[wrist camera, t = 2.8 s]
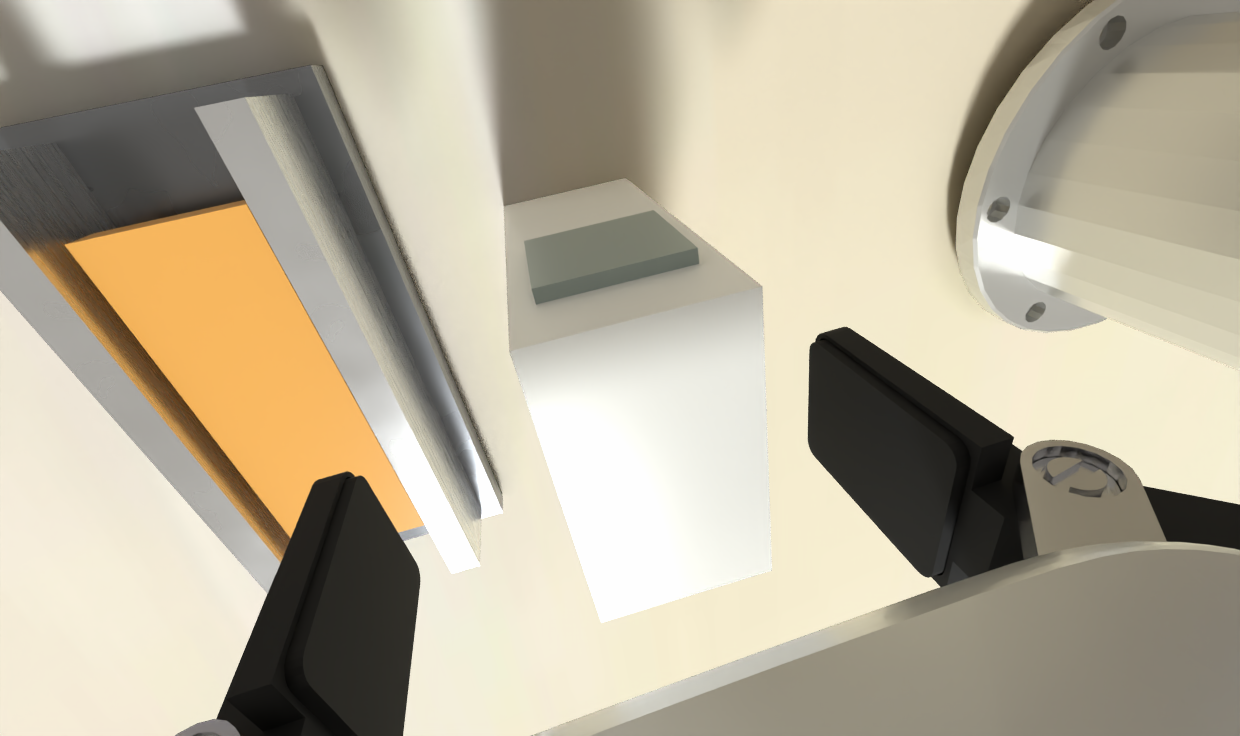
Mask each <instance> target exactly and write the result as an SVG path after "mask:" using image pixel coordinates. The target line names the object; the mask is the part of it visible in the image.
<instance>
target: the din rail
mask: <svg viewBox="0 0 1240 736" xmlns="http://www.w3.org/2000/svg"><path fill="white" fill-rule="evenodd" d="M242 200H245V201H246V203H247V205H248V206H249V208H250V210H251V212H252V214H253V215H254V217H255V219H256V221H257V223H258V224H259V226H260V228H261V230H262V232H263V234H264V235H265V237H266V239H267V241H268V243H269V244H270V246H271V248H272V250H273V252H274V253H275V255H276V257H277V259H278V261H279V262H280V264H281V266H282V268H283V270H284V271H285V273H286V275H287V277H288V279H289V280H290V282H291V284H292V286H293V288H294V289H295V291H296V293H297V295H298V297H299V299H300V300H301V302H302V304H303V306H304V308H305V309H306V311H307V313H308V315H309V317H310V318H311V320H312V322H313V324H314V326H315V327H316V329H317V331H318V333H319V335H320V336H321V338H322V340H323V342H324V344H325V345H326V347H327V349H328V351H329V353H330V354H331V356H332V358H333V360H334V362H335V364H336V365H337V367H338V369H339V371H340V373H341V374H342V376H343V378H344V380H345V382H346V383H347V385H348V387H349V389H350V391H351V392H352V394H353V396H354V398H355V400H356V401H357V403H358V405H359V407H360V409H361V410H362V412H363V414H364V416H365V418H366V419H367V421H368V423H369V425H370V427H371V429H372V430H373V432H374V434H375V436H376V438H377V439H378V441H379V443H380V445H381V447H382V448H383V450H384V452H385V454H386V456H387V457H388V459H389V461H390V463H391V465H392V466H393V468H394V470H395V472H396V474H397V475H398V477H399V479H400V481H401V483H402V485H403V486H404V488H405V490H406V492H407V494H408V495H409V497H410V499H411V501H412V503H413V504H414V506H415V508H416V510H417V512H418V513H419V515H420V517H421V519H422V521H423V522H424V524H425V525H423V526H420V527H416V528H413V529H409V530H406V531H402V532H399V535H400V537H401V538H402V540H403V541H404V540H408V539H411V538H415V537H418V536H422V535H425V534H429V533H430V535H431V537H432V539H433V540H434V542H435V544H436V546H437V548H438V550H439V551H440V553H441V555H442V557H443V559H444V560H445V562H446V564H447V566H448V568H449V569H450V571H451V573H456V572H459V571H463V570H466V569H470V568H473V567H476V566H480V545H481V519H482V518H485V517H489V516H493V515H496V514H500V513H503V498H502V493H501V491H500V488H499V486H498V484H497V481H496V479H495V477H494V474H493V472H492V469H491V467H490V465H489V462H488V460H487V457H486V455H485V453H484V450H483V448H482V445H481V443H480V441H479V438H478V436H477V434H476V431H475V429H474V426H473V424H472V422H471V419H470V417H469V414H468V412H467V410H466V407H465V405H464V402H463V400H462V398H461V395H460V393H459V391H458V388H457V386H456V383H455V381H454V379H453V376H452V374H451V371H450V369H449V367H448V364H447V362H446V359H445V357H444V355H443V352H442V350H441V348H440V345H439V343H438V340H437V338H436V336H435V333H434V331H433V328H432V326H431V324H430V321H429V319H428V316H427V314H426V312H425V309H424V307H423V305H422V302H421V300H420V297H419V295H418V293H417V290H416V288H415V285H414V283H413V281H412V278H411V276H410V273H409V271H408V269H407V266H406V264H405V261H404V259H403V257H402V254H401V252H400V250H399V247H398V245H397V242H396V240H395V238H394V235H393V233H392V230H391V228H390V226H389V223H388V221H387V218H386V216H385V214H384V211H383V209H382V207H381V204H380V202H379V199H378V197H377V195H376V192H375V190H374V187H373V185H372V183H371V180H370V178H369V175H368V173H367V171H366V168H365V166H364V164H363V161H362V159H361V156H360V154H359V152H358V149H357V147H356V144H355V142H354V140H353V137H352V135H351V132H350V130H349V128H348V125H347V123H346V121H345V118H344V116H343V113H342V111H341V109H340V106H339V104H338V101H337V99H336V97H335V94H334V92H333V89H332V87H331V85H330V82H329V80H328V78H327V75H326V73H325V70H324V68H323V66H319V65H308V66H303V67H298V68H293V69H288V70H283V71H278V72H273V73H268V74H263V75H259V76H254V77H249V78H244V79H239V80H234V81H229V82H224V83H219V84H214V85H209V86H204V87H199V88H194V89H189V90H184V91H179V92H174V93H170V94H165V95H160V96H155V97H150V98H145V99H140V100H135V101H130V102H125V103H120V104H115V105H110V106H105V107H100V108H95V109H90V110H85V111H80V112H76V113H71V114H66V115H61V116H56V117H51V118H46V119H41V120H36V121H31V122H26V123H21V124H16V125H11V126H6V127H1V128H0V291H1V292H2V293H3V294H4V295H5V296H6V297H7V299H8V300H9V301H10V302H11V303H12V304H13V305H14V307H15V308H16V309H17V310H18V311H19V312H20V313H21V315H22V316H23V317H24V318H25V319H26V320H27V321H28V322H29V324H30V325H31V326H32V327H33V328H34V329H35V330H36V332H37V333H38V334H39V335H40V336H41V337H42V338H43V339H44V341H45V342H46V343H47V344H48V345H49V346H50V347H51V349H52V350H53V351H54V352H55V353H56V354H57V355H58V356H59V358H60V359H61V360H62V361H63V362H64V363H65V364H66V366H67V367H68V368H69V369H70V370H71V371H72V372H73V373H74V375H75V376H76V377H77V378H78V379H79V380H80V381H81V383H82V384H83V385H84V386H85V387H86V388H87V389H88V390H89V392H90V393H91V394H92V395H93V396H94V397H95V398H96V400H97V401H98V402H99V403H100V404H101V405H102V406H103V408H104V409H105V410H106V411H107V412H108V413H109V414H110V415H111V417H112V418H113V419H114V420H115V421H116V422H117V423H118V425H119V426H120V427H121V428H122V429H123V430H124V431H125V432H126V434H127V435H128V436H129V437H130V438H131V439H132V440H133V442H134V443H135V444H136V445H137V446H138V447H139V448H140V449H141V451H142V452H143V453H144V454H145V455H146V456H147V457H148V459H149V460H150V461H151V462H152V463H153V464H154V465H155V466H156V468H157V469H158V470H159V471H160V472H161V473H162V474H163V476H164V477H165V478H166V479H167V480H168V481H169V482H170V484H171V485H172V486H173V487H174V488H175V489H176V490H177V491H178V493H179V494H180V495H181V496H182V497H183V498H184V499H185V501H186V502H187V503H188V504H189V505H190V506H191V507H192V508H193V510H194V511H195V512H196V513H197V514H198V515H199V516H200V518H201V519H202V520H203V521H204V522H205V523H206V524H207V525H208V527H209V528H210V529H211V530H212V531H213V532H214V533H215V535H216V536H217V537H218V538H219V539H220V540H221V541H222V542H223V544H224V545H225V546H226V547H227V548H228V549H229V550H230V552H231V553H232V554H233V555H234V556H235V557H236V558H237V560H238V561H239V562H240V563H241V564H242V565H243V566H244V567H245V569H246V570H247V571H248V572H249V573H250V574H251V575H252V577H253V578H254V579H255V580H256V581H257V582H258V583H259V584H260V586H261V587H262V588H263V589H264V590H265V591H266V592H267V594H268V592H269V589H270V587H271V584H272V582H273V579H274V577H275V575H276V573H277V571H278V568H279V566H280V563H281V561H282V558H283V556H284V553H285V551H286V549H287V546H288V544H289V541H290V539H291V538H290V537H289V535H288V534H287V533H286V532H285V530H284V529H283V528H282V526H281V525H280V524H279V522H278V521H277V520H276V519H275V517H274V516H273V515H272V513H271V512H270V511H269V510H268V508H267V507H266V506H265V504H264V503H263V502H262V500H261V499H260V498H259V497H258V495H257V494H256V493H255V491H254V490H253V489H252V487H251V486H250V485H249V484H248V482H247V481H246V480H245V478H244V477H243V476H242V475H241V473H240V472H239V471H238V469H237V468H236V467H235V465H234V464H233V463H232V462H231V460H230V459H229V458H228V456H227V455H226V454H225V452H224V451H223V450H222V449H221V447H220V446H219V445H218V443H217V442H216V441H215V439H214V438H213V437H212V436H211V434H210V433H209V432H208V430H207V429H206V428H205V427H204V425H203V424H202V423H201V421H200V420H199V419H198V417H197V416H196V415H195V414H194V412H193V411H192V410H191V408H190V407H189V406H188V404H187V403H186V402H185V401H184V399H183V398H182V397H181V395H180V394H179V393H178V392H177V390H176V389H175V388H174V386H173V385H172V384H171V382H170V381H169V380H168V379H167V377H166V376H165V375H164V373H163V372H162V371H161V369H160V368H159V367H158V366H157V364H156V363H155V362H154V360H153V359H152V358H151V357H150V355H149V354H148V353H147V351H146V350H145V349H144V347H143V346H142V345H141V344H140V342H139V341H138V340H137V338H136V337H135V336H134V334H133V333H132V332H131V331H130V329H129V328H128V327H127V325H126V324H125V323H124V321H123V320H122V319H121V318H120V316H119V315H118V314H117V312H116V311H115V310H114V309H113V307H112V306H111V305H110V303H109V302H108V301H107V299H106V298H105V297H104V296H103V294H102V293H101V292H100V290H99V289H98V288H97V286H96V285H95V284H94V283H93V281H92V280H91V279H90V277H89V276H88V275H87V274H86V272H85V271H84V270H83V268H82V267H81V266H80V264H79V263H78V262H77V261H76V259H75V258H74V257H73V255H72V254H71V253H70V251H69V250H68V249H67V248H66V246H65V244H68V243H70V242H73V241H75V240H78V239H80V238H83V237H86V236H88V235H91V234H93V233H97V232H102V231H106V230H111V229H115V228H120V227H124V226H129V225H133V224H138V223H142V222H147V221H151V220H156V219H160V218H165V217H169V216H174V215H178V214H183V213H188V212H192V211H197V210H201V209H206V208H210V207H215V206H219V205H224V204H228V203H233V202H237V201H242Z"/></svg>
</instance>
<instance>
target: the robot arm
mask: <svg viewBox="0 0 1240 736" xmlns="http://www.w3.org/2000/svg"><path fill="white" fill-rule="evenodd" d="M956 252H957V258H958V264H959V269H960V274H961V276H962V278H963V281H964V283H965V285H966V287H967V290H968V292H969V294H970V295H971V296H972V297H973V298H974V299H975V301H976V302H977V303H978V304H979V305H980V306H981V308H982V309H984V310H985V311H987V312H989V313H990V314H992V315H993V316H995V317H997V318H998V319H1000V320H1002V321H1005V322H1007V323H1009V324H1011V325H1013V326H1015V327H1018V328H1020V329H1023V330H1027V331H1035V332H1043V333H1052V332H1062V331H1071V330H1075V329H1078V328H1082V327H1085V326H1089V325H1093V324H1096V323H1099V322H1101V321H1103V320H1105V319H1110V320H1113V321H1115V322H1118V323H1120V324H1123V325H1125V326H1128V327H1130V328H1133V329H1135V330H1138V331H1140V332H1143V333H1145V334H1148V335H1150V336H1153V337H1155V338H1158V339H1160V340H1163V341H1165V342H1168V343H1170V344H1173V345H1176V346H1178V347H1181V348H1183V349H1186V350H1188V351H1191V352H1193V353H1196V354H1198V355H1201V356H1203V357H1206V358H1208V359H1211V360H1213V361H1216V362H1218V363H1221V364H1223V365H1226V366H1228V367H1231V368H1233V369H1236V370H1238V371H1240V0H1094V1H1092V2H1091V3H1089V4H1088V5H1087V6H1086V7H1084V8H1083V9H1082V10H1081V11H1080V12H1079V13H1078V14H1077V15H1076V16H1074V17H1073V18H1072V19H1071V20H1070V21H1069V22H1068V23H1067V24H1066V25H1064V26H1063V27H1062V28H1061V29H1060V30H1059V31H1058V32H1057V33H1056V34H1054V35H1053V37H1052V38H1051V39H1050V40H1049V41H1048V42H1047V43H1046V45H1045V46H1044V47H1043V48H1042V49H1041V50H1040V52H1039V53H1038V54H1037V55H1036V56H1035V57H1034V58H1033V60H1032V61H1031V62H1030V63H1029V64H1028V65H1027V67H1026V68H1025V69H1024V70H1023V71H1022V73H1021V74H1020V76H1019V77H1018V79H1017V80H1016V82H1015V83H1014V85H1013V86H1012V87H1011V89H1010V90H1009V92H1008V93H1007V95H1006V96H1005V98H1004V99H1003V101H1002V102H1001V104H1000V105H999V107H998V108H997V110H996V112H995V114H994V116H993V118H992V120H991V121H990V123H989V125H988V127H987V129H986V131H985V133H984V135H983V137H982V139H981V141H980V143H979V145H978V147H977V149H976V152H975V155H974V157H973V160H972V163H971V166H970V168H969V171H968V174H967V177H966V179H965V182H964V186H963V191H962V195H961V200H960V205H959V210H958V214H957V228H956ZM1013 439H1014V437H1013V436H1012V435H1010V434H1009V433H1007V432H1005V431H1004V430H1002V429H1001V428H999V427H998V426H996V425H995V424H993V423H992V422H990V421H989V420H987V419H986V418H984V417H983V416H981V415H980V414H978V413H977V412H975V411H974V410H972V409H971V408H969V407H968V406H966V405H965V404H963V403H962V402H960V401H959V400H957V399H956V398H954V397H953V396H951V395H950V394H948V393H947V392H945V391H944V390H942V389H941V388H939V387H938V386H936V385H935V384H933V383H932V382H930V381H929V380H927V379H926V378H924V377H923V376H921V375H919V374H918V373H916V372H915V371H913V370H912V369H910V368H909V367H907V366H906V365H904V364H903V363H901V362H900V361H898V360H897V359H895V358H894V357H892V356H891V355H889V354H888V353H886V352H885V351H883V350H882V349H880V348H879V347H877V346H876V345H874V344H873V343H871V342H870V341H868V340H867V339H865V338H864V337H862V336H861V335H859V334H858V333H856V332H855V331H853V330H852V329H850V328H848V327H842V328H838V329H835V330H831V331H828V332H824V333H821V334H819V335H818V336H817V338H816V341H815V342H814V343H812V344H811V346H810V353H809V404H808V444H809V447H810V450H811V452H812V454H813V455H814V456H815V458H816V459H817V460H818V461H819V462H820V463H821V464H822V465H823V466H824V468H825V469H826V470H827V471H828V472H829V473H830V474H831V475H832V476H833V478H834V479H835V480H836V481H837V482H838V483H839V484H840V485H841V486H842V488H843V489H844V490H845V491H846V492H847V493H848V494H849V495H850V496H851V498H852V499H853V500H854V501H855V502H856V503H857V504H858V505H859V506H860V508H861V509H862V510H863V511H864V512H865V513H866V514H867V515H868V516H869V518H870V519H871V520H872V521H873V522H874V523H875V524H876V525H877V526H878V528H879V529H880V530H881V531H882V532H883V533H884V534H885V535H886V536H887V538H888V539H889V540H890V541H891V542H892V543H893V544H894V545H895V546H896V548H897V549H898V550H899V551H900V552H901V553H902V554H903V555H904V556H905V558H906V559H907V560H908V561H909V562H910V563H911V564H912V565H913V566H914V568H915V569H916V570H917V571H918V572H919V573H920V574H921V575H923V576H925V577H928V578H929V577H932V578H933V579H934V580H935V581H936V582H937V584H938V585H939V586H940V588H937V589H934V590H931V591H928V592H926V593H923V594H920V595H917V596H914V597H912V598H909V599H906V600H903V601H900V602H898V603H895V604H892V605H889V606H886V607H884V608H881V609H878V610H875V611H872V612H870V613H867V614H864V615H861V616H858V617H856V618H853V619H850V620H847V621H844V622H842V623H839V624H836V625H833V626H830V627H828V628H825V629H822V630H819V631H816V632H814V633H811V634H808V635H805V636H802V637H800V638H797V639H794V640H791V641H789V642H786V643H783V644H780V645H778V646H775V647H772V648H769V649H767V650H764V651H761V652H758V653H756V654H753V655H750V656H747V657H744V658H742V659H739V660H736V661H733V662H731V663H728V664H725V665H722V666H720V667H717V668H714V669H711V670H709V671H706V672H703V673H700V674H698V675H695V676H692V677H689V678H687V679H684V680H681V681H678V682H676V683H673V684H670V685H667V686H665V687H662V688H659V689H657V690H654V691H651V692H648V693H646V694H643V695H640V696H637V697H635V698H632V699H629V700H626V701H624V702H621V703H618V704H615V705H613V706H610V707H607V708H605V709H602V710H599V711H596V712H594V713H591V714H588V715H586V716H583V717H580V718H578V719H575V720H572V721H569V722H567V723H564V724H561V725H559V726H556V727H553V728H550V729H548V730H545V731H542V732H540V733H537V734H534V735H532V736H1240V505H1239V504H1234V503H1228V502H1223V501H1218V500H1213V499H1208V498H1202V497H1197V496H1192V495H1187V494H1182V493H1176V492H1171V491H1166V490H1161V489H1156V488H1150V487H1145V486H1143V485H1142V483H1141V480H1140V479H1139V477H1138V476H1137V474H1136V473H1135V472H1134V470H1133V469H1132V468H1131V467H1130V466H1128V465H1127V464H1126V463H1125V462H1123V461H1122V460H1121V459H1119V458H1117V457H1116V456H1114V455H1112V454H1110V453H1108V452H1106V451H1104V450H1101V449H1098V448H1096V447H1093V446H1090V445H1087V444H1083V443H1078V442H1073V441H1065V440H1047V441H1040V442H1036V443H1034V444H1031V445H1029V446H1027V447H1026V448H1025V449H1024V450H1023V451H1021V450H1020V449H1018V448H1017V447H1015V446H1014V445H1013V444H1012V442H1013ZM419 589H420V573H419V568H418V565H417V563H416V562H415V560H414V558H413V557H412V555H411V553H410V552H409V550H408V548H407V547H406V545H405V543H404V542H403V540H402V538H401V537H400V535H399V533H398V532H397V530H396V528H395V527H394V525H393V523H392V522H391V520H390V518H389V517H388V515H387V513H386V512H385V510H384V508H383V507H382V505H381V503H380V502H379V500H378V498H377V497H376V495H375V493H374V492H373V490H372V488H371V487H370V485H369V483H368V482H367V480H366V479H365V477H363V476H361V475H359V476H356V477H355V476H354V474H352V473H351V472H348V471H346V472H343V473H339V474H336V475H332V476H329V477H325V478H322V479H318V480H316V481H315V482H314V483H313V485H312V487H311V490H310V492H309V495H308V497H307V500H306V502H305V504H304V507H303V509H302V512H301V514H300V517H299V519H298V522H297V524H296V527H295V529H294V531H293V534H292V536H291V539H290V541H289V544H288V546H287V549H286V551H285V553H284V556H283V558H282V561H281V563H280V566H279V568H278V571H277V573H276V575H275V577H274V579H273V582H272V584H271V587H270V589H269V592H268V594H267V597H266V599H265V601H264V604H263V606H262V609H261V611H260V614H259V616H258V619H257V621H256V623H255V626H254V628H253V631H252V633H251V636H250V638H249V641H248V643H247V645H246V648H245V650H244V653H243V655H242V658H241V660H240V663H239V665H238V667H237V670H236V672H235V675H234V677H233V680H232V682H231V685H230V687H229V689H228V692H227V694H226V697H225V699H224V702H223V704H222V707H221V709H220V711H219V714H218V716H217V719H212V720H209V721H205V722H201V723H197V724H195V725H193V726H191V727H189V728H187V729H186V730H184V731H182V732H180V733H178V734H177V735H175V736H403V730H404V721H405V712H406V703H407V695H408V686H409V677H410V668H411V659H412V651H413V642H414V633H415V624H416V615H417V607H418V598H419Z"/></svg>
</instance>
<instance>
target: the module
mask: <svg viewBox="0 0 1240 736" xmlns="http://www.w3.org/2000/svg"><path fill="white" fill-rule="evenodd" d="M504 227H505V253H506V278H507V304H508V330H509V352H510V355H511V358H512V361H513V363H514V366H515V369H516V372H517V375H518V378H519V381H520V384H521V387H522V390H523V393H524V396H525V399H526V402H527V405H528V408H529V411H530V414H531V417H532V420H533V423H534V426H535V429H536V431H537V434H538V437H539V440H540V443H541V446H542V449H543V452H544V455H545V458H546V461H547V464H548V467H549V470H550V473H551V476H552V479H553V482H554V485H555V488H556V491H557V494H558V497H559V499H560V502H561V505H562V508H563V511H564V514H565V517H566V520H567V523H568V526H569V529H570V532H571V535H572V538H573V541H574V544H575V547H576V550H577V553H578V556H579V559H580V562H581V565H582V567H583V570H584V573H585V576H586V579H587V582H588V585H589V588H590V591H591V594H592V597H593V600H594V603H595V606H596V609H597V612H598V615H599V618H600V621H601V623H603V622H606V621H609V620H612V619H616V618H619V617H622V616H625V615H629V614H632V613H635V612H638V611H642V610H645V609H648V608H652V607H655V606H658V605H661V604H665V603H668V602H671V601H674V600H678V599H681V598H684V597H687V596H691V595H694V594H697V593H700V592H704V591H707V590H710V589H713V588H717V587H720V586H723V585H726V584H730V583H733V582H736V581H739V580H743V579H746V578H749V577H752V576H756V575H759V574H762V573H766V572H769V571H772V556H771V527H770V497H769V468H768V439H767V409H766V380H765V351H764V321H763V292H762V286H761V285H760V284H759V283H758V282H756V281H755V280H754V279H753V278H751V277H750V276H749V275H748V274H746V273H745V272H744V271H743V270H741V269H740V268H739V267H737V266H736V265H735V264H734V263H732V262H731V261H730V260H729V259H727V258H726V257H725V256H724V255H722V254H721V253H720V252H719V251H717V250H716V249H715V248H714V247H712V246H711V245H710V244H708V243H707V242H706V241H705V240H703V239H702V238H701V237H700V236H698V235H697V234H696V233H695V232H693V231H692V230H691V229H690V228H688V227H687V226H686V225H685V224H683V223H682V222H681V221H679V220H678V219H677V218H676V217H674V216H673V215H672V214H671V213H669V212H668V211H667V210H666V209H664V208H663V207H662V206H661V205H659V204H658V203H657V202H656V201H654V200H653V199H652V198H651V197H649V196H648V195H647V194H645V193H644V192H643V191H642V190H640V189H639V188H638V187H637V186H635V185H634V184H633V183H632V182H630V181H629V180H628V179H627V178H623V179H619V180H614V181H610V182H606V183H602V184H597V185H593V186H589V187H584V188H580V189H576V190H571V191H567V192H563V193H558V194H554V195H550V196H546V197H541V198H537V199H533V200H528V201H524V202H520V203H515V204H511V205H507V206H504Z"/></svg>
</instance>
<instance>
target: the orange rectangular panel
mask: <svg viewBox="0 0 1240 736" xmlns="http://www.w3.org/2000/svg"><path fill="white" fill-rule="evenodd" d="M65 246H66V248H67V249H68V250H69V251H70V253H71V254H72V255H73V257H74V258H75V259H76V261H77V262H78V263H79V264H80V266H81V267H82V268H83V270H84V271H85V272H86V274H87V275H88V276H89V277H90V279H91V280H92V281H93V283H94V284H95V285H96V286H97V288H98V289H99V290H100V292H101V293H102V294H103V296H104V297H105V298H106V299H107V301H108V302H109V303H110V305H111V306H112V307H113V309H114V310H115V311H116V312H117V314H118V315H119V316H120V318H121V319H122V320H123V321H124V323H125V324H126V325H127V327H128V328H129V329H130V331H131V332H132V333H133V334H134V336H135V337H136V338H137V340H138V341H139V342H140V344H141V345H142V346H143V347H144V349H145V350H146V351H147V353H148V354H149V355H150V357H151V358H152V359H153V360H154V362H155V363H156V364H157V366H158V367H159V368H160V369H161V371H162V372H163V373H164V375H165V376H166V377H167V379H168V380H169V381H170V382H171V384H172V385H173V386H174V388H175V389H176V390H177V392H178V393H179V394H180V395H181V397H182V398H183V399H184V401H185V402H186V403H187V404H188V406H189V407H190V408H191V410H192V411H193V412H194V414H195V415H196V416H197V417H198V419H199V420H200V421H201V423H202V424H203V425H204V427H205V428H206V429H207V430H208V432H209V433H210V434H211V436H212V437H213V438H214V439H215V441H216V442H217V443H218V445H219V446H220V447H221V449H222V450H223V451H224V452H225V454H226V455H227V456H228V458H229V459H230V460H231V462H232V463H233V464H234V465H235V467H236V468H237V469H238V471H239V472H240V473H241V475H242V476H243V477H244V478H245V480H246V481H247V482H248V484H249V485H250V486H251V487H252V489H253V490H254V491H255V493H256V494H257V495H258V497H259V498H260V499H261V500H262V502H263V503H264V504H265V506H266V507H267V508H268V510H269V511H270V512H271V513H272V515H273V516H274V517H275V519H276V520H277V521H278V522H279V524H280V525H281V526H282V528H283V529H284V530H285V532H286V533H287V534H288V535H289V537H290V538H291V536H292V534H293V531H294V529H295V527H296V524H297V522H298V519H299V517H300V514H301V512H302V509H303V507H304V504H305V502H306V500H307V497H308V495H309V492H310V490H311V487H312V485H313V483H314V482H315V481H316V480H318V479H322V478H325V477H329V476H332V475H336V474H339V473H343V472H346V471H348V472H351V473H352V474H354V476H355V477H356V476H359V475H361V476H363V477H365V479H366V480H367V482H368V483H369V485H370V487H371V488H372V490H373V492H374V493H375V495H376V497H377V498H378V500H379V502H380V503H381V505H382V507H383V508H384V510H385V512H386V513H387V515H388V517H389V518H390V520H391V522H392V523H393V525H394V527H395V528H396V530H397V532H398V533H399V532H402V531H406V530H409V529H413V528H416V527H420V526H423V525H425V524H424V522H423V521H422V519H421V517H420V515H419V513H418V512H417V510H416V508H415V506H414V504H413V503H412V501H411V499H410V497H409V495H408V494H407V492H406V490H405V488H404V486H403V485H402V483H401V481H400V479H399V477H398V475H397V474H396V472H395V470H394V468H393V466H392V465H391V463H390V461H389V459H388V457H387V456H386V454H385V452H384V450H383V448H382V447H381V445H380V443H379V441H378V439H377V438H376V436H375V434H374V432H373V430H372V429H371V427H370V425H369V423H368V421H367V419H366V418H365V416H364V414H363V412H362V410H361V409H360V407H359V405H358V403H357V401H356V400H355V398H354V396H353V394H352V392H351V391H350V389H349V387H348V385H347V383H346V382H345V380H344V378H343V376H342V374H341V373H340V371H339V369H338V367H337V365H336V364H335V362H334V360H333V358H332V356H331V354H330V353H329V351H328V349H327V347H326V345H325V344H324V342H323V340H322V338H321V336H320V335H319V333H318V331H317V329H316V327H315V326H314V324H313V322H312V320H311V318H310V317H309V315H308V313H307V311H306V309H305V308H304V306H303V304H302V302H301V300H300V299H299V297H298V295H297V293H296V291H295V289H294V288H293V286H292V284H291V282H290V280H289V279H288V277H287V275H286V273H285V271H284V270H283V268H282V266H281V264H280V262H279V261H278V259H277V257H276V255H275V253H274V252H273V250H272V248H271V246H270V244H269V243H268V241H267V239H266V237H265V235H264V234H263V232H262V230H261V228H260V226H259V224H258V223H257V221H256V219H255V217H254V215H253V214H252V212H251V210H250V208H249V206H248V205H247V203H246V201H245V200H242V201H237V202H233V203H228V204H224V205H219V206H215V207H210V208H206V209H201V210H197V211H192V212H188V213H183V214H178V215H174V216H169V217H165V218H160V219H156V220H151V221H147V222H142V223H138V224H133V225H129V226H124V227H120V228H115V229H111V230H106V231H102V232H97V233H93V234H91V235H88V236H86V237H83V238H80V239H78V240H75V241H73V242H70V243H68V244H65Z"/></svg>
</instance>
